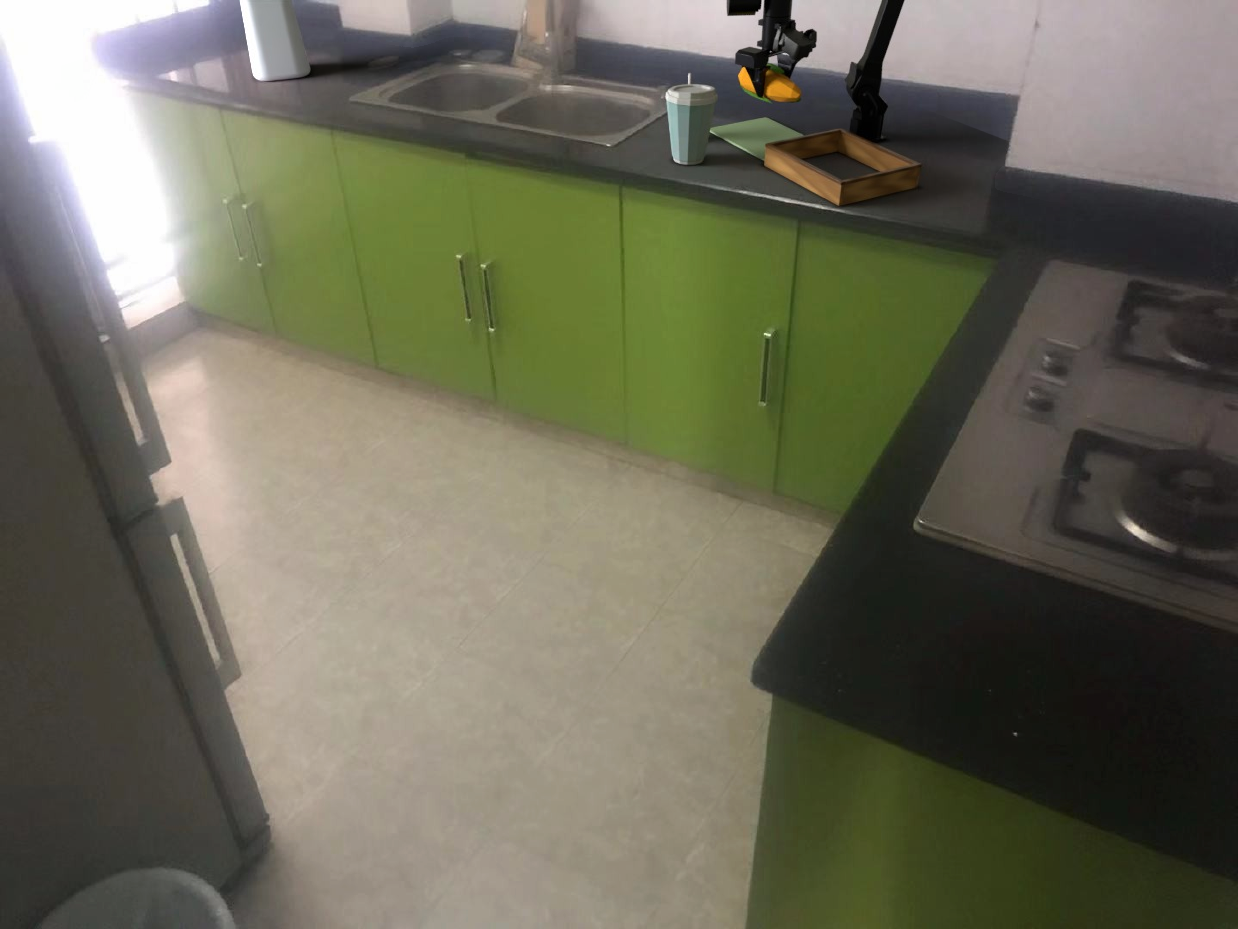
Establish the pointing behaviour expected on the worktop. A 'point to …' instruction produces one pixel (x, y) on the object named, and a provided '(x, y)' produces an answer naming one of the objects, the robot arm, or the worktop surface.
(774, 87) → the corn
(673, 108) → the disposable coffee cup
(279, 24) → the plastic bottle
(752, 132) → the mat
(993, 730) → the worktop surface
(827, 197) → the wooden tray
